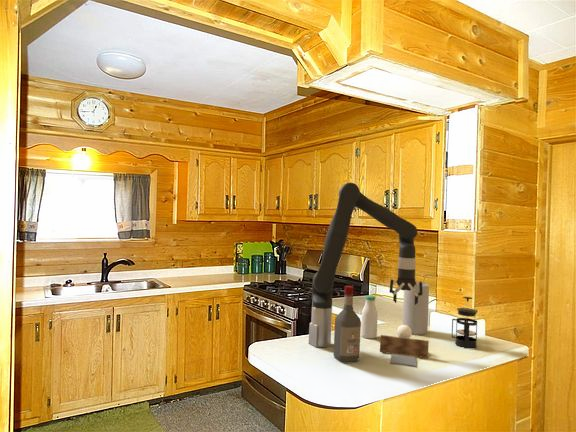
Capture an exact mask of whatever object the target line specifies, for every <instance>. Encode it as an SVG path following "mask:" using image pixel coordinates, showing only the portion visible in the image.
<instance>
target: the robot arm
mask: <svg viewBox="0 0 576 432" xmlns="http://www.w3.org/2000/svg"><path fill="white" fill-rule="evenodd" d="M355 208H356V209H359V210H361V211H363V212H364V213H366V214H367V215H369V216H370V217H371V218H373V219H374V220H376V221H377V222H379V223H380V224H382V225H384V226H385V227H386V228H388V229H391V230H392V231H394V232H395V233H397V234H398V244H399V252H398V260H397V279H394V278H391V279H390V284H389V293H390V294H392V295H393V296H392V297H393V298H392V300H393V302H394V303H395V304H397V299H398V298H397V296H398V292H400V291H401V290H402V291H404V290H408V291H410V290H412V292H413V293H414V294H415V303H414V304H415V305H416V304H417V303H418V296H420V295H423V293H422V283H423V282H422V281H421V280H420V281H416V246H415V244H414V243H415V239H416V237H417V236H418V228H417V226H415V224H413V223H411V221H408V220H406V219H404V218H403V217H400V216H399V215H397V214H396V213H394V211H392V210H390V209H389V208H387V207H385V206H383V205H381V204H379V203H377V202H375V201H374V200H372V199H370V198H368V197H367V196H366V195H364V194H363V193H362V192H361V191H360V188H359V186H358V185H357V184H356V183H354V182H346V183H344V184H343V185H342V186H341V187H340V188H339V190H338V200H337V205H336V209H335V212H334V214H333V217H332V219H331V221H330V223H329V226H328V229H327V232H326V235H325V239H324V243H323V248H322V257H321V262H320V265H319V267H318V270H317V272H316V273H315V274H314V275H313V276H312V284H311V285H312V287H311V290H312V291H311V292H312V293H311V319H310V321H311V322H309V324H308V325H309V327H308V344H309V345H311V346H313V347H315V348H328V347H330V346H331V345H332V344H331V343H332V317H333V316H332V315H333V288H334V283H335V277H336V274H337V273H336V272H337V268H338V264H339V262H340V260H341V256H342V254H343V250H344V248H345V245H346V242H347V238H348V235H349V229H350V226H351V219H352V215H353V213H354V209H355ZM395 284H396V285H397V287H396V288H395V290H394V289H393V287H394V285H395ZM416 284H417V285H418V287H419V291H420V292H419V293H417V292H416V290H415V289H414V286H415V285H416Z"/></svg>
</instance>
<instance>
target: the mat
mask: <svg viewBox="0 0 576 432" xmlns="http://www.w3.org/2000/svg"><path fill="white" fill-rule="evenodd" d="M390 354H391V355H390V360H389V363H390V365H398V366H406V367H412V368H417V358H416V356H409V355H401V354H394V353H390Z"/></svg>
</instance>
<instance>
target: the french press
mask: <svg viewBox="0 0 576 432" xmlns="http://www.w3.org/2000/svg"><path fill="white" fill-rule="evenodd" d="M462 299H465V300H466V307H458V308H457V309H456V310H457V314H458V315H459V316H463V317H458V318H452V319H451V338H452V339H455V343H454V345H455V344H456V345H455V346H457V347H459V348H462V347H464V348H463V349H467V348H475V349H477V348H478V346H477V339H478V337H477V336H478V334H477V333H478V320H476V319H473V318H472V317H476V315H477V313H478V310H477V309H473V308H469V302H470V300H472V299H473V297H470V296H463V298H462ZM470 317H471V318H470ZM454 321H456V326H455V328H456V329H455V336H453V335H454V334H453V330H454ZM458 324H459V325H462V326H463V329H458ZM470 326H471V327H474V326H476V327H475V329H476V330H475V331H473V330H470ZM458 334H459V335H458ZM474 336H475V338H474ZM476 347H477V348H476Z"/></svg>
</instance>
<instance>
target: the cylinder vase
mask: <svg viewBox="0 0 576 432" xmlns="http://www.w3.org/2000/svg"><path fill="white" fill-rule="evenodd" d="M414 289H415V290H416V292H417V293H419V292H420V291H419V287H418V285H417V284H416V285H415V286H414ZM422 293H423V295H420V296H418V303H417V304H416V305H415V304H414V303H415V294H414V293H413V292H412V290H410V291H408V290H403V301H402V302H403V303H402V304H403V305H402V306H403V307H402V325H407V326H409V327H410V328H411V331H412V334H411V335H416V336H421V335H422V336H423V335H427V333H428V331H429V329H428V326H429V325H428V323H429V302H430V301H429V300H430V285H429V283H426V282H425V283H424V282H422Z"/></svg>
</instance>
